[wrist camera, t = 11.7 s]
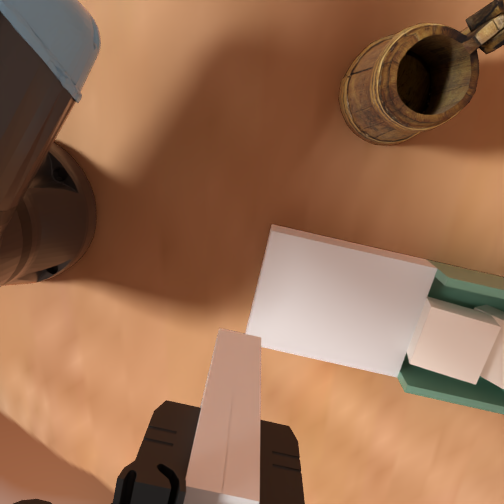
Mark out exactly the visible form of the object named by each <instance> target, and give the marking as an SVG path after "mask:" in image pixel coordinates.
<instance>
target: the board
mask: <svg viewBox="0 0 504 504" xmlns="http://www.w3.org/2000/svg"><path fill="white" fill-rule="evenodd" d="M436 271H437V268H436V267H435V266H434V265H432V264H431V263H430V262H429V261H428V260H426V259H422V258H418V257H414V256H409V255H405V254H401V253H396V252H392V251H387V250H383V249H379V248H374V247H370V246H366V245H361V244H357V243H353V242H348V241H344V240H339V239H335V238H331V237H326V236H322V235H318V234H313V233H309V232H304V231H300V230H296V229H291V228H287V227H283V226H278V225H274V224H271V229H270V233H269V237H268V241H267V245H266V249H265V253H264V258H263V262H262V266H261V270H260V274H259V278H258V282H257V287H256V291H255V295H254V299H253V303H252V307H251V311H250V316H249V320H248V324H247V328H246V334H248V335H253V336H257V337H261V347H264V348H268V349H273V350H277V351H282V352H286V353H291V354H295V355H300V356H304V357H308V358H313V359H317V360H322V361H326V362H331V363H335V364H340V365H344V366H349V367H353V368H357V369H362V370H366V371H371V372H375V373H380V374H384V375H389V376H393V377H398V374H399V371H400V369H401V366H402V363H403V361H404V358H405V355H406V353H407V350H408V347H409V344H410V342H411V339H412V336H413V334H414V331H415V328H416V326H417V323H418V320H419V317H420V315H421V312H422V309H423V307H424V304H425V301H426V298H427V296H428V293H429V290H430V288H431V285H432V282H433V280H434V277H435V274H436Z"/></svg>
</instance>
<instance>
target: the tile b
mask: <svg viewBox="0 0 504 504" xmlns="http://www.w3.org/2000/svg"><path fill="white" fill-rule="evenodd" d="M474 310H477V311H480V312H484V313H487V314H491V316H492V317H493V318H494V319H495V320H496V322H497V323H498V324H499V325H500V326H501V328H500V331H499V333H498V335H497V337H496V340H495V342H494V344H493V347H492V349H491V351H490V353H489V356H488V358H487V360H486V363H485V365H484V367H483V369H482V372H481V374H480V376H481V377H483V378H484V379H486V380H488V381H490V382H491V383H493V384H495V385H497V386H499V387H500V388H502V389H504V312H503V311H501V310H498V309H496V308H494V307H491V306H489V305H487V304H486V305H482V306H478V307H474Z"/></svg>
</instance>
